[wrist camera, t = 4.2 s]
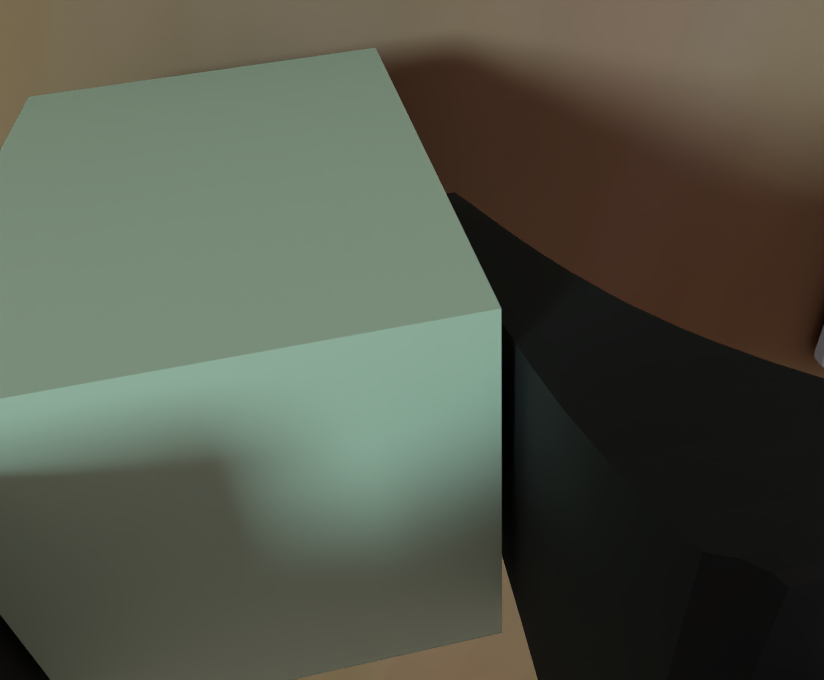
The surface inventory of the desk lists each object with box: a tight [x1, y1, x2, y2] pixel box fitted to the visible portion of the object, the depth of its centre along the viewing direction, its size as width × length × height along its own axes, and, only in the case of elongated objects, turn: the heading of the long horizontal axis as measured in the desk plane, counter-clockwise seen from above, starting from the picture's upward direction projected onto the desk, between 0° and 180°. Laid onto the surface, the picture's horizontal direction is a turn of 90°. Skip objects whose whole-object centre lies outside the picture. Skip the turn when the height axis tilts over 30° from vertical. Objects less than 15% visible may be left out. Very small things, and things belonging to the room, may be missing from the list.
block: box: [0, 48, 502, 680], centre depth 9 cm, size 4×4×6 cm
